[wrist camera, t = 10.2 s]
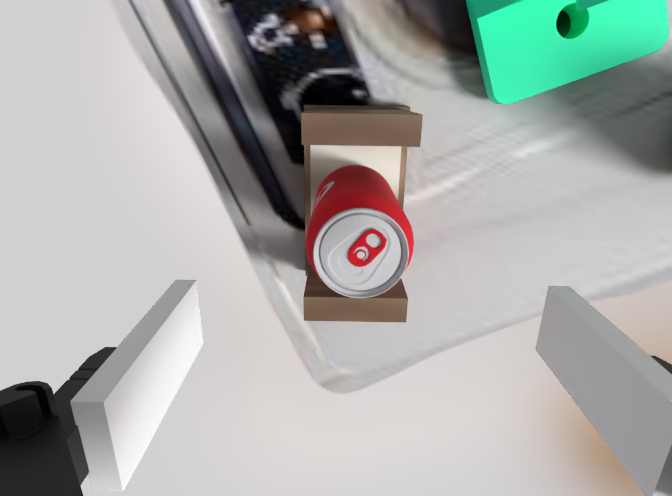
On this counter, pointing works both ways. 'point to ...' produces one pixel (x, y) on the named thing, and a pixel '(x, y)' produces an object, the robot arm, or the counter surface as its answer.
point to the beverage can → (358, 233)
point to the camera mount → (559, 41)
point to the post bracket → (366, 150)
